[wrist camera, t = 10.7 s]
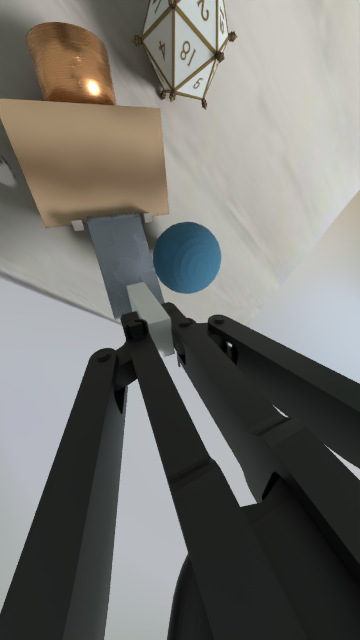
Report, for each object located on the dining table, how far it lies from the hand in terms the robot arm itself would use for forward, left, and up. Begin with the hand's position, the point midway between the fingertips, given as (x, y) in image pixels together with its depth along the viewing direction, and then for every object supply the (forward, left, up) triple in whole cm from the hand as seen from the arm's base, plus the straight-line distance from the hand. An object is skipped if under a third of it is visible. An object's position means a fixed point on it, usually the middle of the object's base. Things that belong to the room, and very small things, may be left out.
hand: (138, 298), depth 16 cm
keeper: (-2, 0, -4) cm, 5 cm away
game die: (-19, +10, -15) cm, 26 cm away
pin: (-10, 0, -14) cm, 17 cm away
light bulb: (-1, +8, -15) cm, 17 cm away
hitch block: (-10, 0, -15) cm, 17 cm away
